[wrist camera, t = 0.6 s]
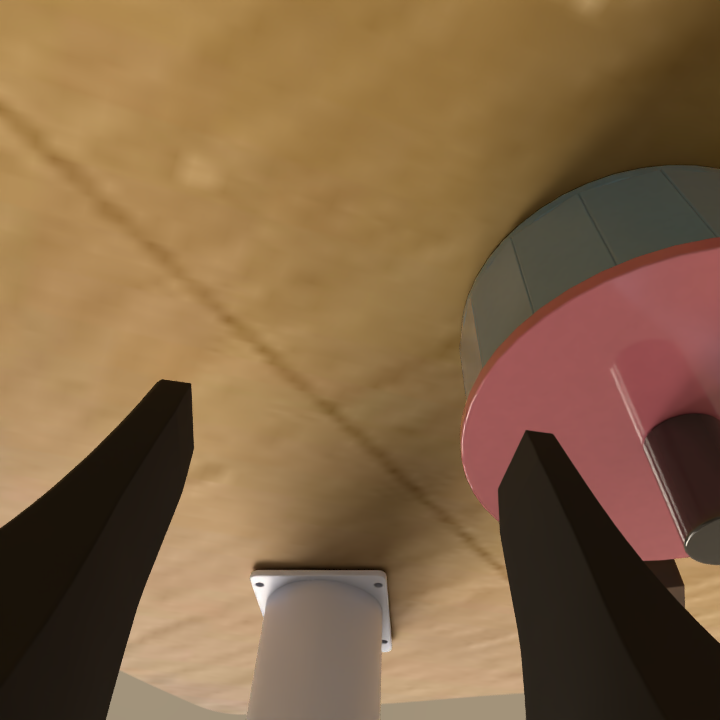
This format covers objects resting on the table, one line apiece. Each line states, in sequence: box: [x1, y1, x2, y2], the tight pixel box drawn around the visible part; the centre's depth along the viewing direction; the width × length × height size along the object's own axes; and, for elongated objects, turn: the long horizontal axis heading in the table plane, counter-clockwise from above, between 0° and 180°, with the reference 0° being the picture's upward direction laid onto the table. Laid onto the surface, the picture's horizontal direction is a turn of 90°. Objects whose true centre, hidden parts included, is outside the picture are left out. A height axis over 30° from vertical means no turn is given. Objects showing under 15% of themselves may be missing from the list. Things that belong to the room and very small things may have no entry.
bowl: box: [460, 165, 720, 401], centre depth 21 cm, size 13×13×6 cm
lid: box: [460, 237, 720, 565], centre depth 18 cm, size 14×14×5 cm
